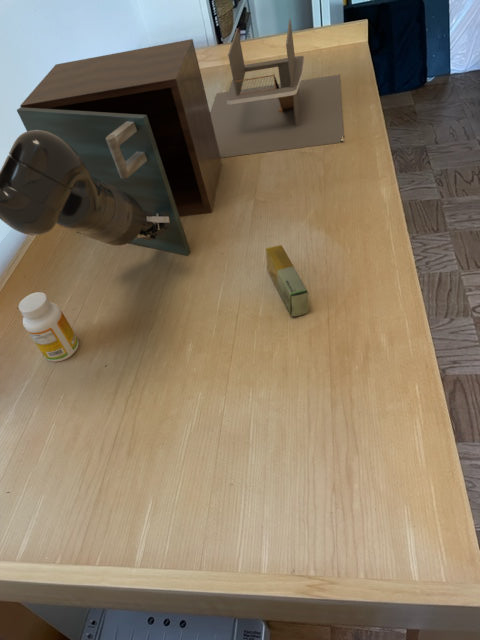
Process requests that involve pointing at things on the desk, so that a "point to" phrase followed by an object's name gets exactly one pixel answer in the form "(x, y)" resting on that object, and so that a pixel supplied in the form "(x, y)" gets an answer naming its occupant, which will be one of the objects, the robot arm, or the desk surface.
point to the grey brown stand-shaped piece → (276, 107)
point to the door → (118, 161)
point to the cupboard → (149, 110)
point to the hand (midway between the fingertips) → (150, 233)
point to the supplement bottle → (48, 327)
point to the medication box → (287, 281)
